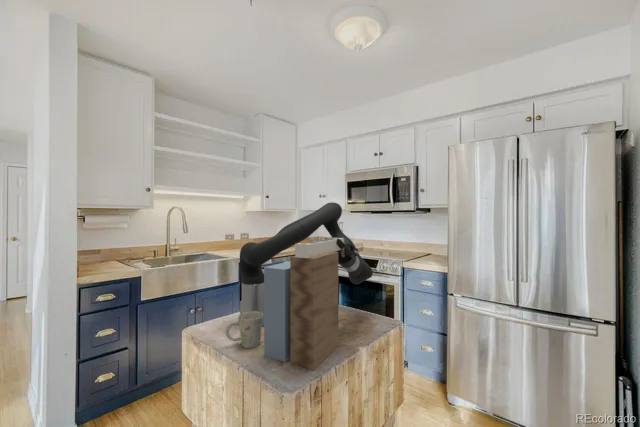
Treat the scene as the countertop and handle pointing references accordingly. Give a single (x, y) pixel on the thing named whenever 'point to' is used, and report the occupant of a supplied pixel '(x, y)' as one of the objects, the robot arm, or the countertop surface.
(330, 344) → the walnut stand
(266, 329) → the blue stand
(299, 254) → the light grey square-ended block
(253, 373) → the countertop surface
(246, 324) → the mug
